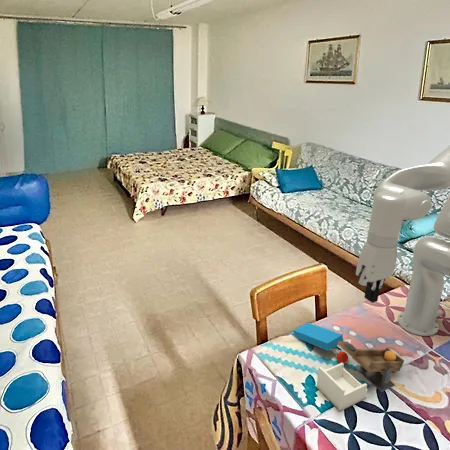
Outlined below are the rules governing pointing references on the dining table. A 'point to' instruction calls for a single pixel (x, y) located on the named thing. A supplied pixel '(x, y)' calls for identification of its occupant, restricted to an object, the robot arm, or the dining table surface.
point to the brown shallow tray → (371, 358)
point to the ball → (390, 356)
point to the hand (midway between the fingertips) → (370, 299)
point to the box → (340, 387)
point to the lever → (321, 339)
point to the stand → (377, 378)
